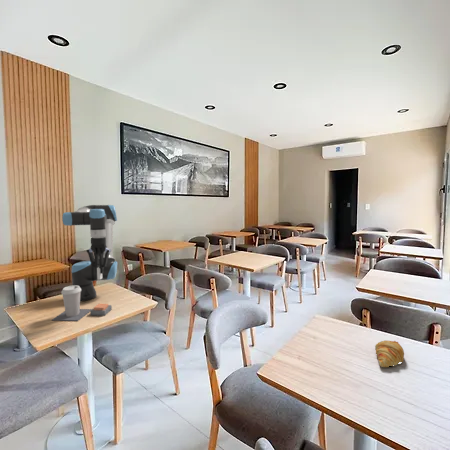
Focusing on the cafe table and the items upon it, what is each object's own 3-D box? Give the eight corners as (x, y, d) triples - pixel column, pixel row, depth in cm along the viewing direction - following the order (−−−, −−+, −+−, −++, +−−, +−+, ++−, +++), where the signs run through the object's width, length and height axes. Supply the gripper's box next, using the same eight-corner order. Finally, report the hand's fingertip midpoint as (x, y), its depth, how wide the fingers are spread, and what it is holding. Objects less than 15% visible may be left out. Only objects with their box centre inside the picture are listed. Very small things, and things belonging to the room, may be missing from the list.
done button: (98, 307, 152) (98, 303, 152) (108, 307, 152) (108, 303, 151) (93, 311, 146) (93, 307, 146) (103, 312, 146) (103, 307, 146)
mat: (68, 309, 153) (68, 308, 153) (92, 310, 152) (92, 309, 152) (51, 320, 139) (51, 319, 139) (77, 321, 138) (77, 320, 138)
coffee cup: (76, 318, 141) (74, 290, 139) (58, 317, 141) (57, 290, 139) (86, 310, 150) (84, 285, 149) (69, 310, 150) (68, 284, 149)
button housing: (98, 309, 153) (97, 305, 153) (111, 309, 153) (111, 305, 153) (90, 315, 145) (90, 310, 145) (104, 315, 145) (104, 311, 145)
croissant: (389, 381, 98) (402, 368, 95) (364, 359, 104) (375, 346, 101) (402, 356, 113) (414, 344, 110) (379, 338, 119) (390, 326, 116)
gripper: (82, 237, 141) (84, 280, 144) (106, 238, 141) (108, 281, 143) (90, 236, 149) (92, 276, 151) (113, 236, 148) (114, 277, 151)
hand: (99, 278), depth 147 cm, fingers closed
